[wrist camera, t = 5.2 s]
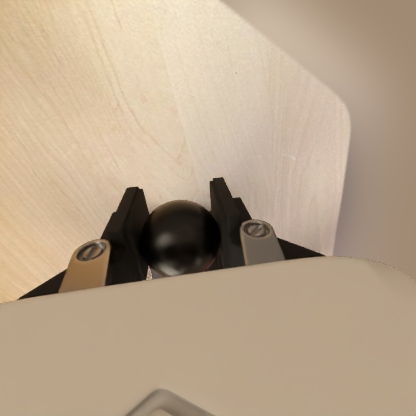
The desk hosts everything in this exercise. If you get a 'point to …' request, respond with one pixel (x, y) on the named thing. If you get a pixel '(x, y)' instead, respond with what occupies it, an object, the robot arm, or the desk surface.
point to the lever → (179, 239)
